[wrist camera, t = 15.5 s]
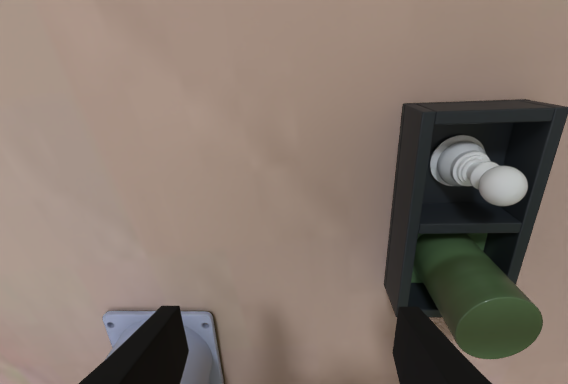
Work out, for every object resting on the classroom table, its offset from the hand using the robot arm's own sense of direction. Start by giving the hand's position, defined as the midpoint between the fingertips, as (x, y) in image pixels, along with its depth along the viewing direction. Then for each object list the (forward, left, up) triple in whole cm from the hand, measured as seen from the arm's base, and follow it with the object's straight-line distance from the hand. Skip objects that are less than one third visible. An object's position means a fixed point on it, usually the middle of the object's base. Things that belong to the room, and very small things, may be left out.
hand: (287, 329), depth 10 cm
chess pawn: (+3, -9, -9) cm, 13 cm away
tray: (0, -9, -9) cm, 13 cm away
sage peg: (-3, -9, -9) cm, 13 cm away
